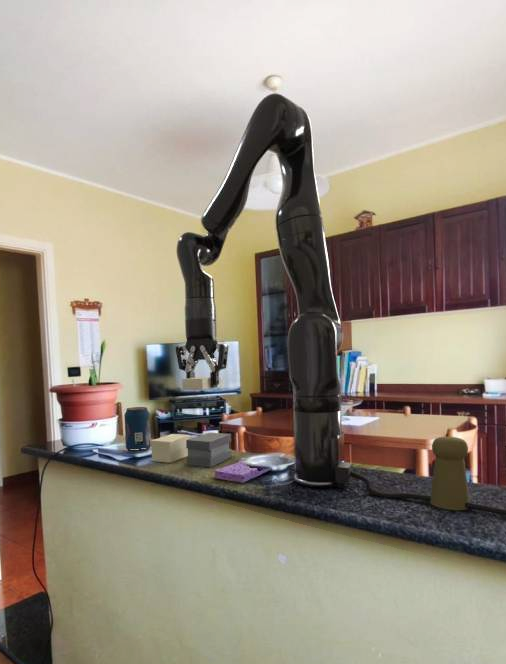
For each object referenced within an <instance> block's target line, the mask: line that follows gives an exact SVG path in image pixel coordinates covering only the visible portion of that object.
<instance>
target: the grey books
mask: <svg viewBox="0 0 506 664" xmlns="http://www.w3.org/2000/svg"><path fill="white" fill-rule="evenodd" d="M230 443H232V434H231V433H221V432H206V433H203V434H201V435H197V436H194V437H190V439H188V440H186V448H188V456H186V465H187V466H192V467H193V466H194V467H202V468H203V467H204V468H212V467H214V466H217V465H218V464H221V463H222V462H225V461H226V460H228V459H230V458H232V449H231V448H230Z"/></svg>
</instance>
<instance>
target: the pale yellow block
mask: <svg viewBox="0 0 506 664" xmlns="http://www.w3.org/2000/svg"><path fill="white" fill-rule="evenodd" d="M219 388H223V376H219V385H217V387H215V388H211V378H210V376H195V378H181V389H182V391H205V390H212V389H219Z"/></svg>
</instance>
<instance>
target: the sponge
mask: <svg viewBox="0 0 506 664" xmlns="http://www.w3.org/2000/svg"><path fill="white" fill-rule="evenodd" d="M243 460H244V459H242V460H240V461H238V462H235V463H231V464H229V465H225V466H224V467H221V468H217V469H214V478H216V479H219V480H223V481H230V482H235V483H242V484H243V483H245V482H248V481H250V480H252V479H254V478H257V477H258V476H261V475H263V474H265V473H267V472H269V471H271V470H272V469H263V470H261V471H258V469H257V468H250V467H249V466H247V465H246V464H244V463H242V461H243Z"/></svg>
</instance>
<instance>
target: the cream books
mask: <svg viewBox="0 0 506 664" xmlns="http://www.w3.org/2000/svg"><path fill="white" fill-rule="evenodd" d="M188 439H191V434H183V433H182V434H181V433H171V434H168V435H164V436H161V437H158V438H154V439H151V447H150V451H151V461H152V462H156V463H157V462H159V463H170V464H171V463H174V462H176V461H179V460H181V459H183V458H187V457H188V448H186V440H188Z"/></svg>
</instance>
